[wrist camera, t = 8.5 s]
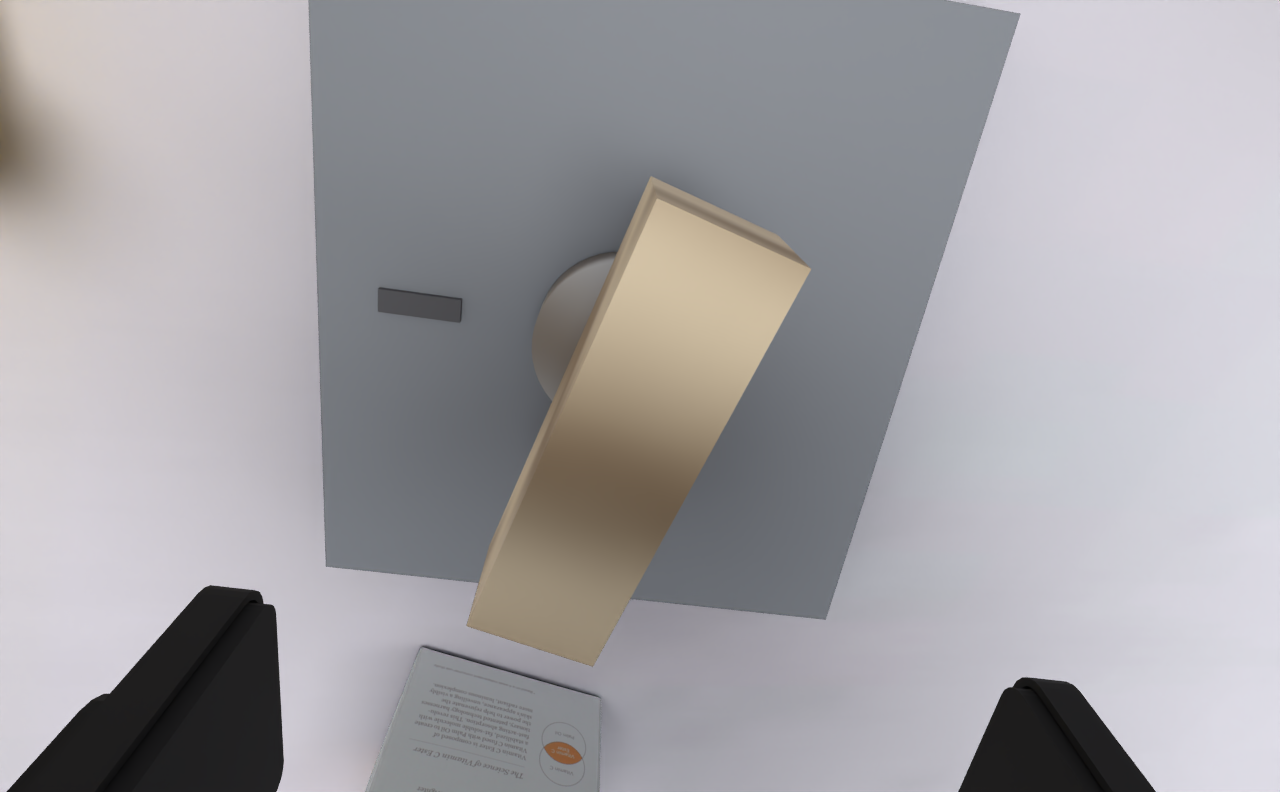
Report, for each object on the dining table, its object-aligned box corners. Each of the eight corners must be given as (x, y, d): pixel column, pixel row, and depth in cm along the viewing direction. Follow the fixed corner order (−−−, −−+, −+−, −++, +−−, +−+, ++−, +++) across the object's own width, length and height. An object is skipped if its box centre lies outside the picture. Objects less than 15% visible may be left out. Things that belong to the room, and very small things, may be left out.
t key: (610, 137, 19) (602, 172, 12) (773, 214, 20) (860, 290, 13) (486, 440, 23) (422, 611, 16) (630, 494, 24) (633, 679, 16)
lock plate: (984, 19, 20) (1024, 13, 18) (812, 584, 28) (827, 623, 26) (335, -97, 19) (301, -118, 17) (345, 533, 27) (323, 570, 25)
